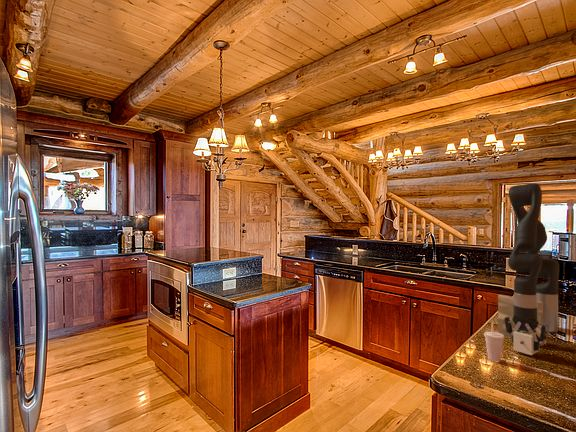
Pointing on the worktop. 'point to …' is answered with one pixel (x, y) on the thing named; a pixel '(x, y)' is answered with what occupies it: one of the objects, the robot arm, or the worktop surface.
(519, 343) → the wall box
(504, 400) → the worktop surface
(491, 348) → the smoothie
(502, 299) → the cleat board
